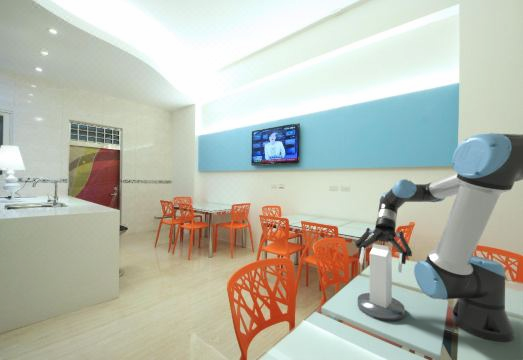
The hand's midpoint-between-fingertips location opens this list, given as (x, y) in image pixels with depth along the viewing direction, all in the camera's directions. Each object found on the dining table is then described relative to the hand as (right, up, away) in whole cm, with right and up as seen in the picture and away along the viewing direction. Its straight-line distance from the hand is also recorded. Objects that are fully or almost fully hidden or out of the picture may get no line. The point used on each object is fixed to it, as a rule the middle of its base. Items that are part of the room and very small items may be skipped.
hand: (379, 266), depth 90 cm
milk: (0, -14, 0) cm, 14 cm away
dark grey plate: (0, -16, 0) cm, 16 cm away
